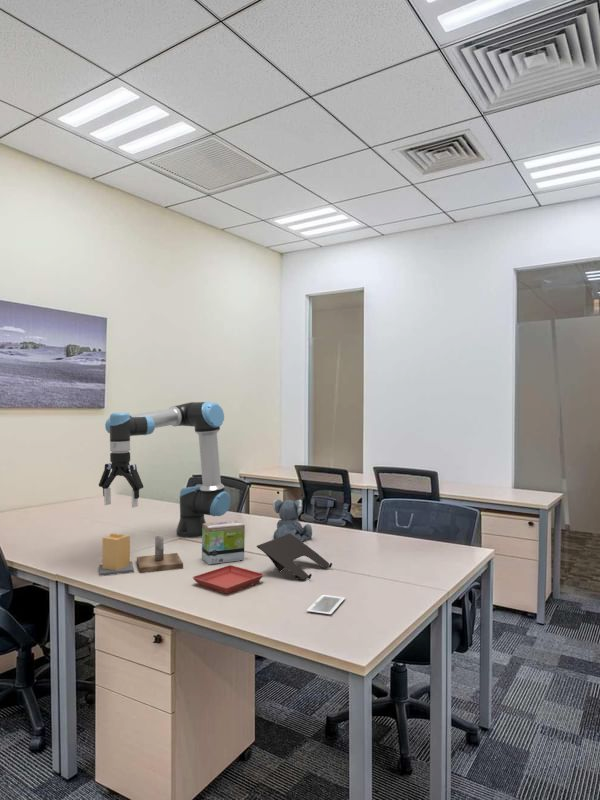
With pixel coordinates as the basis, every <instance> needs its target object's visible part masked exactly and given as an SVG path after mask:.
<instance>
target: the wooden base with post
mask: <svg viewBox="0 0 600 800" xmlns="http://www.w3.org/2000/svg"><path fill="white" fill-rule="evenodd" d="M164 548H165V547H164V536H163V535H157V536H155V537H154V554H153V555H152V554H151V555H142V556H136V565H137V568H138V571H139V572H138V573H139V574H145V573H146V572H147V573H155V571H156V572H163V571H175V570H182V569H184V562H183V560H182V559H181V557H180V555H179V554H178V553H177V552H174V553H173V552H171V553H164V550H165V549H164ZM147 573H146V574H147Z"/></svg>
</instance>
